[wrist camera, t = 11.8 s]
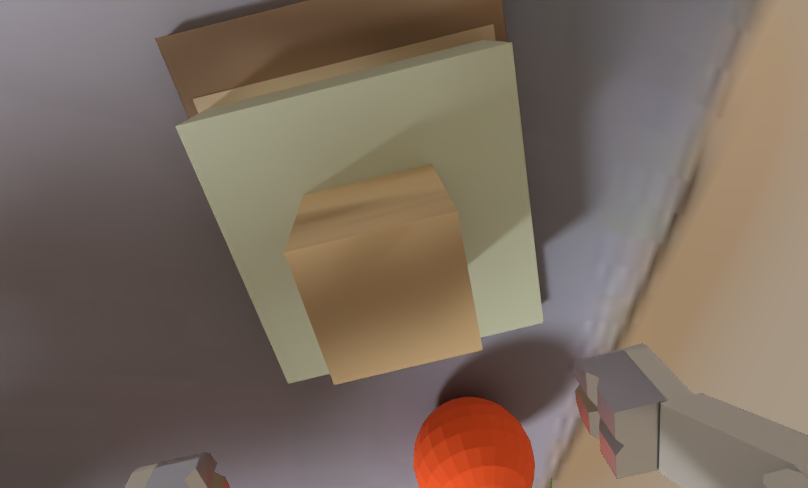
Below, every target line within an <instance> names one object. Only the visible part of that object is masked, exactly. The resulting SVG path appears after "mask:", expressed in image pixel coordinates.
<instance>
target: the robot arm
mask: <svg viewBox="0 0 808 488" xmlns="http://www.w3.org/2000/svg"><path fill="white" fill-rule="evenodd" d="M573 370H574V376H575V378H576V379H577V381H578V382H579V386H578V387H577V389H576V390H575V393H576V402H577V406H578V409H579V412H580V416H581V418H582V420H583V422H584V424H585V426H586V428H587V430H588V431H589V433H590V435H592V436H594V437H596V438H598V439H599V440H600V451H601V453H602V455H603V457H604V458H605V460H606V461H607V463H608V465H609V466H610V468H611V470H612V471H613V473H614V475H615V476H616V478H617V479H619V478H624V477H628V476H633V475H638V474H642V473H647V472H652V471H656V470H659V473H661V474H662V475H664V476H666V477H667V478H668V479H670V480H672V481H673V482H674V483H676V484H677V485H679V486H681V487H682V488H808V435H806V434H804V433H801V432H798V431H796V430H794V429H791V428H789V427H786V426H784V425H781V424H779V423H776V422H773V421H771V420H768V419H766V418H763V417H761V416H758V415H756V414H753V413H751V412H748V411H746V410H743V409H741V408H738V407H736V406H733V405H731V404H728V403H726V402H723V401H721V400H718V399H716V398H713V397H711V396H708V395H706V394H703V393H699V394H695V395H694V394H693V393H692V391H691V390H689V388H688V387H687V386H686V385H685V384H684V383H683V382H682V381H681V380H680V379H679V378H678V377H677V376H676V375H675V374H674V373H673V372H672V371H671V370H670V369H669V368H668V367H667V366H666V365H665V364H664V363H663V362H662V360H661V359H660V358H659V357H658V356H657V355H656V354H655V353H654V352H653V351H652V350H651V349H650V348H649V347H648V346H647V345H645V344H638V345H634V346H630V347H626V348H622V349H619V350H615V351H612V352H608V353H604V354H600V355H596V356H592V357H588V358H584V359H580V360H576V361H574V365H573ZM216 465H217V463H216V461H215V459H214V458H213V456H212V455H211V453H205V452H204V453H199V454H195V455H190V456H186V457H181V458H177V459H172V460H168V461H163V462H160V463H157V464H152V465H147V466H143V467H139V468H137V469H136V470H135V471H134V472H133V473H132V474H131V476H130V478H129V480H128V482H127V484H126V485H125V487H124V488H230V487H229V484H228V482H227V480H226V478H225V477H223V476H221V475H219V474H217V473H215V472H214V471H215V468H216Z"/></svg>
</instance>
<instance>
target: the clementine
mask: <svg viewBox="0 0 808 488" xmlns="http://www.w3.org/2000/svg"><path fill="white" fill-rule="evenodd" d="M534 469H535V463H534V455H533V451H532V447H531V443H530V440H529V438H528V436H527V434H526V433H525V431H524V429H523V428H522V426H521V424H520V423H519V421H518V420H517V419H516V418H515V417H514V416H513V415H512V414H511V413H509V412H508V411H507V410H506V409H505V408H503V407H502V406H501V405H499V404H497V403H495V402H493V401H490V400H487V399H483V398H478V397H461V398H457V399H452V400H450V401H448V402H446V403H444V404H442V405H441V406H439V407H438V408H437V409H435V410H434V411H433V412H432V413H431V414H430V415H429V417H428V418H427V419H426V420H425V421H424V423H423V424H422V427H421V429H420V431H419V434H418V436H417V439H416V442H415V447H414V471H415V474H416V478H417V481H418V485H419V488H532V484H533V480H534ZM550 488H552V478H551V481H550Z"/></svg>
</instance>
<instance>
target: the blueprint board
mask: <svg viewBox="0 0 808 488" xmlns="http://www.w3.org/2000/svg"><path fill="white" fill-rule="evenodd" d="M480 40H492V41H502V42H507V38H506V29H505V20H504V12H503V3H502V0H307V1H303V2H299V3H295V4H291V5H287V6H283V7H279V8H275V9H271V10H267V11H263V12H259V13H255V14H251V15H247V16H243V17H239V18H235V19H231V20H227V21H223V22H219V23H215V24H211V25H207V26H203V27H199V28H195V29H191V30H187V31H183V32H179V33H176V34H172V35H168V36H164V37H160V38H156V42H157V44H158V46H159V49H160V51H161V54H162V56H163V58H164V61H165V63H166V65H167V68H168V70H169V72H170V75H171V77H172V80H173V82H174V84H175V87H176V89H177V91H178V94H179V96H180V98H181V101H182V103H183V106H184V108H185V110H186V113H187V115H188V117H189V119H190V118H191V117H193V116H195V115H197V114H199V113H201V112H203V111H204V110H206V109H208V108H212V107H216V106H220V105H224V104H228V103H232V102H236V101H240V100H244V99H248V98H252V97H256V96H260V95H264V94H268V93H272V92H276V91H280V90H284V89H288V88H292V87H296V86H300V85H304V84H308V83H312V82H316V81H320V80H324V79H328V78H332V77H336V76H340V75H344V74H348V73H352V72H356V71H360V70H364V69H368V68H372V67H376V66H380V65H384V64H388V63H392V62H396V61H400V60H404V59H408V58H412V57H416V56H420V55H424V54H428V53H432V52H436V51H440V50H444V49H448V48H452V47H456V46H460V45H464V44H468V43H472V42H476V41H480Z"/></svg>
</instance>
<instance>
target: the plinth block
mask: <svg viewBox="0 0 808 488" xmlns="http://www.w3.org/2000/svg"><path fill="white" fill-rule="evenodd" d="M175 127H176V129H177V132H178V134H179V136H180V138H181V141H182V143H183V145H184V148H185V150H186V152H187V154H188V157H189V159H190V161H191V164H192V166H193V168H194V170H195V173H196V175H197V177H198V179H199V182H200V184H201V186H202V189H203V191H204V193H205V195H206V198H207V200H208V202H209V205H210V207H211V209H212V211H213V214H214V216H215V218H216V221H217V223H218V225H219V227H220V230H221V232H222V234H223V236H224V239H225V241H226V243H227V246H228V248H229V250H230V252H231V255H232V257H233V259H234V262H235V264H236V266H237V268H238V271H239V273H240V275H241V278H242V280H243V282H244V284H245V287H246V289H247V291H248V293H249V296H250V298H251V300H252V303H253V305H254V307H255V309H256V312H257V314H258V316H259V319H260V321H261V323H262V325H263V328H264V330H265V332H266V334H267V337H268V339H269V341H270V344H271V346H272V348H273V350H274V353H275V355H276V357H277V360H278V362H279V364H280V366H281V369H282V371H283V373H284V376H285V378H286V380H287V382H288V384H290V383H294V382H298V381H302V380H306V379H311V378H315V377H319V376H323V375H327V374H330V373H329V370H328V368H327V365H326V362H325V360H324V357H323V354H322V352H321V349H320V346H319V344H318V341H317V338H316V336H315V333H314V331H313V328H312V325H311V323H310V320H309V317H308V315H307V312H306V309H305V307H304V304H303V301H302V299H301V296H300V293H299V291H298V288H297V285H296V283H295V280H294V278H293V275H292V272H291V270H290V267H289V264H288V262H287V259H286V256H285V254H284V252H285V249H286V245H287V242H288V239H289V236H290V233H291V230H292V227H293V224H294V221H295V218H296V215H297V212H298V209H299V206H300V203H301V200H302V197H303V195H304V194H308V193H313V192H317V191H321V190H325V189H329V188H333V187H337V186H341V185H346V184H350V183H354V182H358V181H362V180H366V179H370V178H374V177H379V176H383V175H387V174H391V173H395V172H399V171H403V170H407V169H412V168H416V167H420V166H424V165H428V164H432V165H433V167H434V169H435V171H436V172H437V174H438V176H439V178H440V180H441V182H442V184H443V185H444V187H445V189H446V191H447V193H448V195H449V197H450V198H451V200H452V202H453V204H454V206H455V208H456V209H457V212H458V217H459V223H460V228H461V234H462V239H463V245H464V250H465V256H466V261H467V266H468V272H469V277H470V283H471V288H472V294H473V299H474V304H475V310H476V315H477V321H478V326H479V332H480V337H481V338H482V337H486V336H490V335H494V334H498V333H503V332H507V331H511V330H515V329H519V328H523V327H528V326H532V325H536V324H540V323H543V315H542V306H541V297H540V288H539V279H538V270H537V261H536V252H535V243H534V234H533V225H532V216H531V207H530V199H529V190H528V181H527V172H526V163H525V154H524V145H523V136H522V127H521V118H520V109H519V100H518V91H517V82H516V73H515V64H514V55H513V47H512V42H502V41H492V40H480V41H476V42H472V43H468V44H464V45H460V46H456V47H452V48H448V49H444V50H440V51H436V52H432V53H428V54H424V55H420V56H416V57H412V58H408V59H404V60H400V61H396V62H392V63H388V64H384V65H380V66H376V67H372V68H368V69H364V70H360V71H356V72H352V73H348V74H344V75H340V76H336V77H332V78H328V79H324V80H320V81H316V82H312V83H308V84H304V85H300V86H296V87H292V88H288V89H284V90H280V91H276V92H272V93H268V94H264V95H260V96H256V97H252V98H248V99H244V100H240V101H236V102H232V103H228V104H224V105H220V106H216V107H212V108H208V109H206V110H204V111H203V112H201V113H199V114H197V115H195V116H193V117H191V118H190V119H188V120H186V121H184V122H182V123H180V124H178V125H177V126H175Z"/></svg>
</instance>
